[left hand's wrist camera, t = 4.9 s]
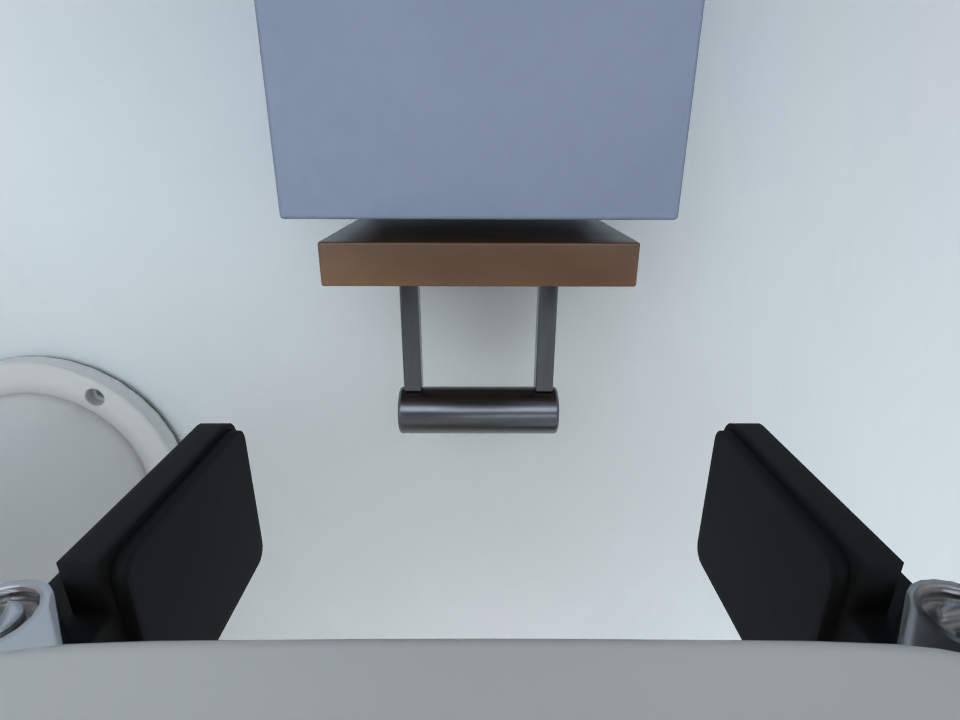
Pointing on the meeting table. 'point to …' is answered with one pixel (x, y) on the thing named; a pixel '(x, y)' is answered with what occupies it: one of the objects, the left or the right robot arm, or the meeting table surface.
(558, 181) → the cabinet
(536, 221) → the drawer
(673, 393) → the meeting table surface
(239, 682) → the left robot arm
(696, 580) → the meeting table surface
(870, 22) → the meeting table surface
